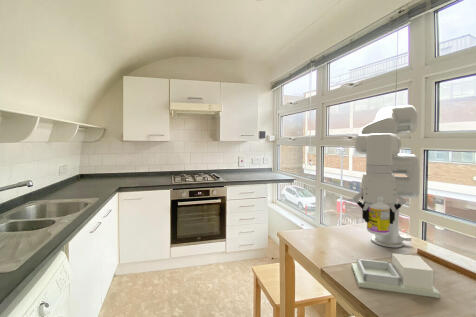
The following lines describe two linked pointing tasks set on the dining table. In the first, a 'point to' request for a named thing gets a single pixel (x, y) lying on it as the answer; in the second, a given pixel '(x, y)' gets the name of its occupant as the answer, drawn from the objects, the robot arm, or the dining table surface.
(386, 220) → the supplement bottle
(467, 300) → the dining table surface
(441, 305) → the dining table surface
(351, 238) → the dining table surface
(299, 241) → the dining table surface
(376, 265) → the square frame tray
